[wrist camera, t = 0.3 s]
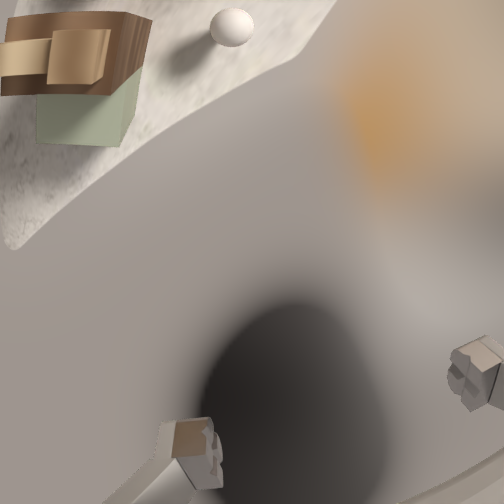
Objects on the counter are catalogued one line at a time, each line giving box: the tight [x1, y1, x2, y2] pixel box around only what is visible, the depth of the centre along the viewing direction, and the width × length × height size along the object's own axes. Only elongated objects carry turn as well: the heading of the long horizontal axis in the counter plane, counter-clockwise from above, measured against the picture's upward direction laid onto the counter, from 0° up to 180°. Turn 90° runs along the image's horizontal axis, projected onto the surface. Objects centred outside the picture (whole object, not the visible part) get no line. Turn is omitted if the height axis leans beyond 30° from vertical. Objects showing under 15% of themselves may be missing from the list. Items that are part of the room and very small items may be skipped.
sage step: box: [36, 66, 143, 147], centre depth 39 cm, size 12×9×16 cm
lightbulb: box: [210, 8, 254, 47], centre depth 38 cm, size 6×6×11 cm
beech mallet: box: [0, 29, 111, 84], centre depth 17 cm, size 19×4×4 cm, turn 75°
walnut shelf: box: [1, 11, 152, 96], centre depth 30 cm, size 12×8×26 cm, turn 75°
